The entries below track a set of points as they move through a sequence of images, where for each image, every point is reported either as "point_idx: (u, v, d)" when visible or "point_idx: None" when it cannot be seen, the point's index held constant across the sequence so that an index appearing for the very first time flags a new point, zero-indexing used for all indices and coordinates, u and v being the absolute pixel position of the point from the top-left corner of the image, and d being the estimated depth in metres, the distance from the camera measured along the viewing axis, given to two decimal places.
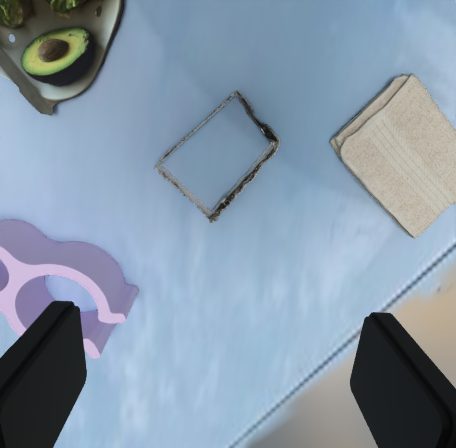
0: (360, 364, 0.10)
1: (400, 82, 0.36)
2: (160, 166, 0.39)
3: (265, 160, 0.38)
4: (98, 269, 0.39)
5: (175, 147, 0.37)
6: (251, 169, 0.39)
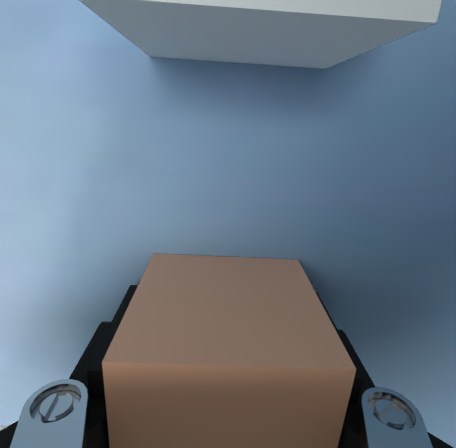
0: None
1: None
2: None
3: None
4: None
5: None
6: None
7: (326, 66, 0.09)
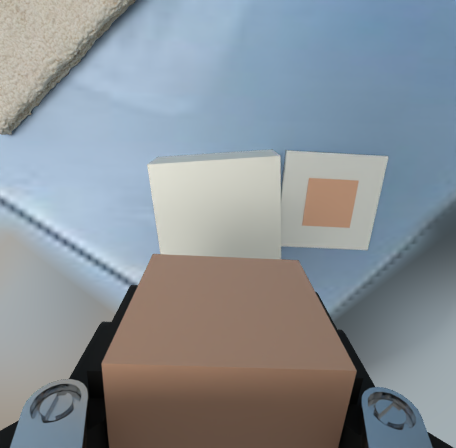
0: None
1: None
2: None
3: None
4: None
5: None
6: None
7: None
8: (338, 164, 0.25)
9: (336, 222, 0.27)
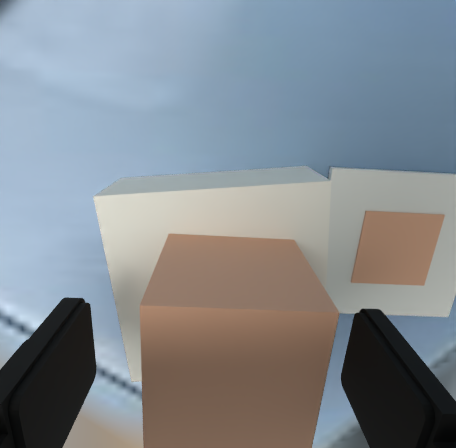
0: (350, 359, 0.10)
1: None
2: None
3: None
4: None
5: None
6: None
7: None
8: (413, 189, 0.15)
9: (403, 277, 0.17)
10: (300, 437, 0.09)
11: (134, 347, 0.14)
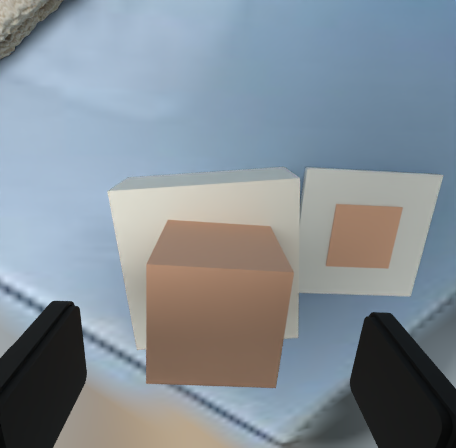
0: (360, 364, 0.10)
1: None
2: None
3: None
4: None
5: None
6: None
7: None
8: (375, 186, 0.18)
9: (370, 261, 0.20)
10: (267, 373, 0.12)
11: (140, 319, 0.17)
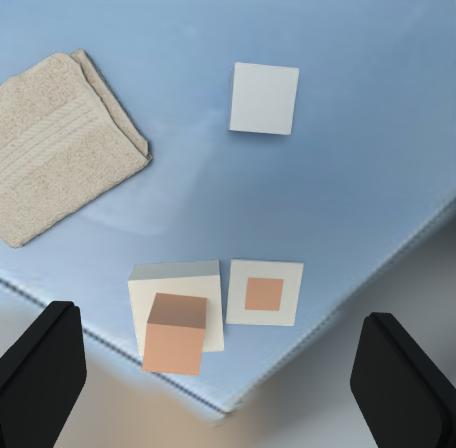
0: (360, 364, 0.10)
1: (141, 147, 0.29)
2: None
3: None
4: None
5: None
6: None
7: None
8: (268, 269, 0.35)
9: (269, 306, 0.36)
10: (194, 369, 0.29)
11: (141, 340, 0.33)
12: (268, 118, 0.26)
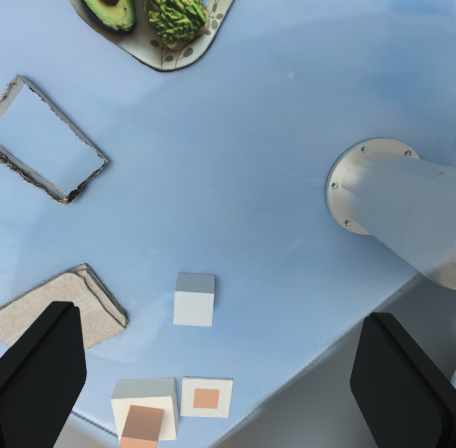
0: (360, 364, 0.10)
1: (121, 320, 0.45)
2: None
3: (47, 192, 0.39)
4: None
5: (42, 99, 0.35)
6: (39, 178, 0.39)
7: None
8: (208, 383, 0.51)
9: (210, 406, 0.53)
10: None
11: (120, 433, 0.50)
12: (196, 318, 0.42)
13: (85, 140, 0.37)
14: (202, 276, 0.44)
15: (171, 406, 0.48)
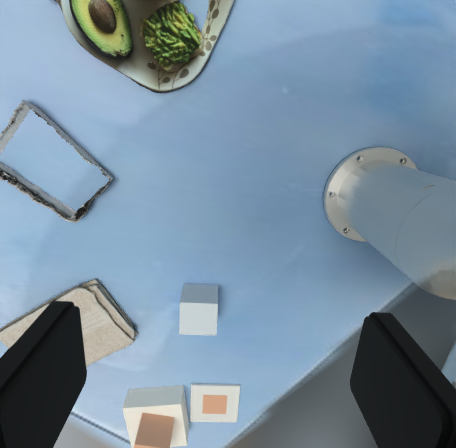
0: (360, 364, 0.10)
1: (130, 333, 0.47)
2: None
3: (55, 210, 0.40)
4: None
5: (47, 123, 0.37)
6: (48, 197, 0.41)
7: None
8: (216, 389, 0.52)
9: (219, 411, 0.54)
10: None
11: (132, 440, 0.51)
12: (201, 327, 0.43)
13: (90, 159, 0.39)
14: (206, 286, 0.46)
15: (181, 413, 0.50)
